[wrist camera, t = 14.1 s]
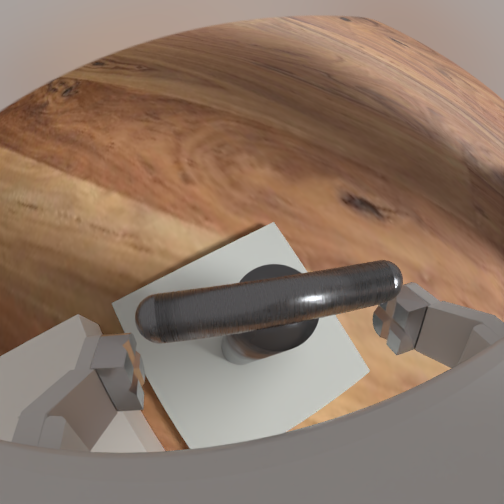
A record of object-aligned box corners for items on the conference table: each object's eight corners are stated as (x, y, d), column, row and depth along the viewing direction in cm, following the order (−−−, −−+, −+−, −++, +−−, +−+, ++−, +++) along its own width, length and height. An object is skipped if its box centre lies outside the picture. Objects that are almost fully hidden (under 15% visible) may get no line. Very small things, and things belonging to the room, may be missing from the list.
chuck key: (289, 319, 17) (395, 231, 7) (296, 354, 16) (421, 312, 6) (182, 336, 16) (126, 265, 5) (187, 372, 15) (135, 369, 5)
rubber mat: (271, 227, 20) (273, 221, 19) (363, 371, 17) (370, 371, 16) (115, 306, 16) (111, 303, 16) (208, 469, 13) (207, 473, 13)
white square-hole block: (98, 324, 16) (78, 314, 13) (181, 473, 13) (174, 491, 10) (-8, 379, 13) (-34, 375, 10) (59, 511, 10) (39, 525, 7)
